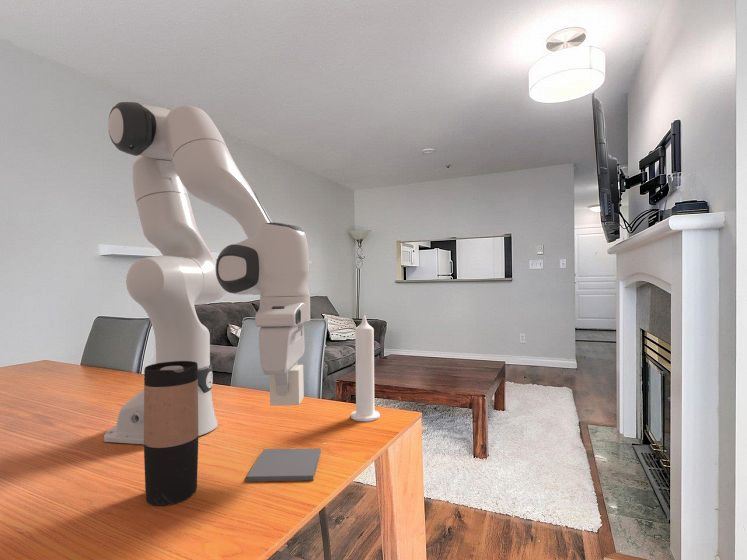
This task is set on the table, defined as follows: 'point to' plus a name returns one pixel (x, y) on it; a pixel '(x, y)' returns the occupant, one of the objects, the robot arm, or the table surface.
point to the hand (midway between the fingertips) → (286, 389)
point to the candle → (364, 373)
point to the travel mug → (170, 431)
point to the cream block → (295, 388)
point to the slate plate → (285, 465)
